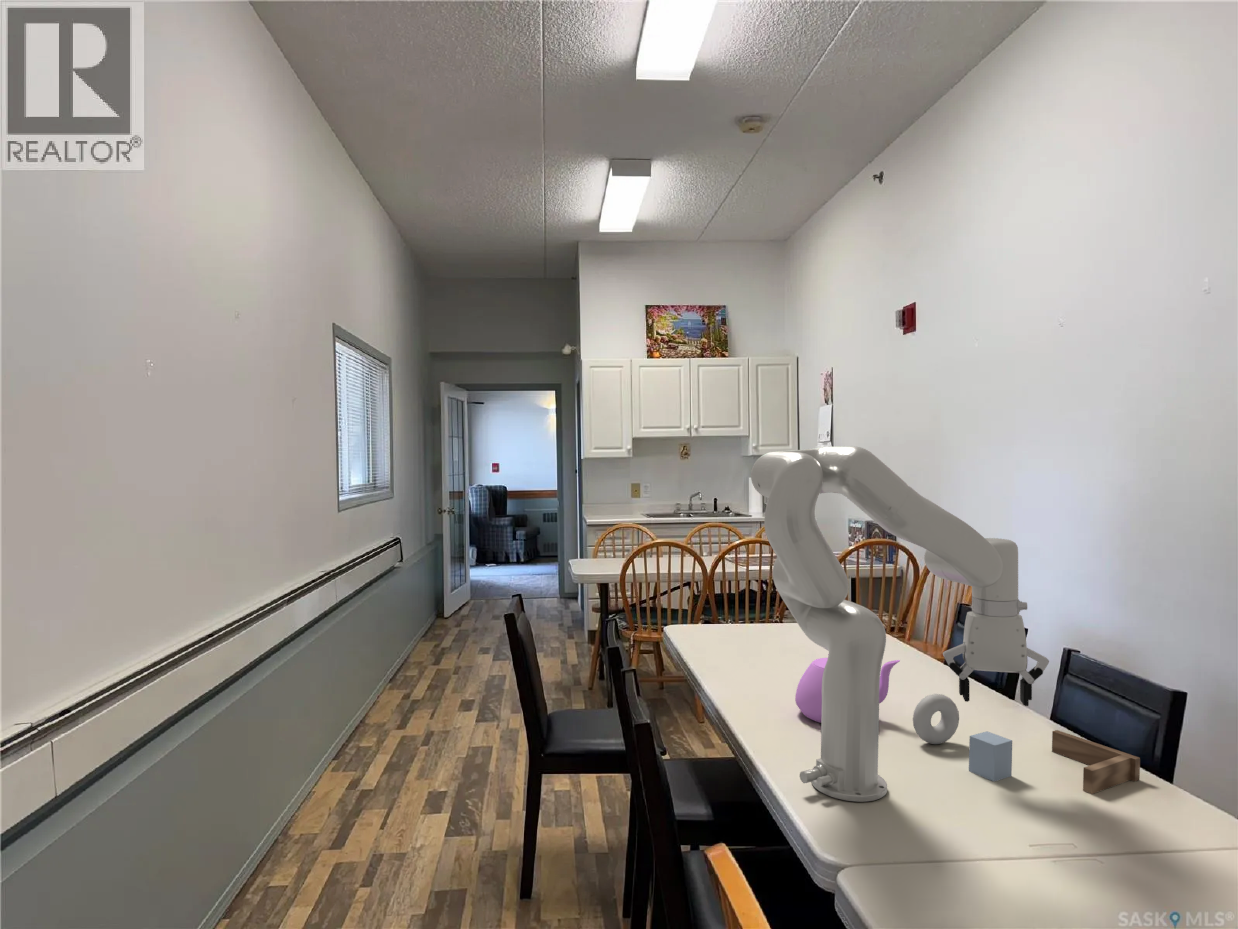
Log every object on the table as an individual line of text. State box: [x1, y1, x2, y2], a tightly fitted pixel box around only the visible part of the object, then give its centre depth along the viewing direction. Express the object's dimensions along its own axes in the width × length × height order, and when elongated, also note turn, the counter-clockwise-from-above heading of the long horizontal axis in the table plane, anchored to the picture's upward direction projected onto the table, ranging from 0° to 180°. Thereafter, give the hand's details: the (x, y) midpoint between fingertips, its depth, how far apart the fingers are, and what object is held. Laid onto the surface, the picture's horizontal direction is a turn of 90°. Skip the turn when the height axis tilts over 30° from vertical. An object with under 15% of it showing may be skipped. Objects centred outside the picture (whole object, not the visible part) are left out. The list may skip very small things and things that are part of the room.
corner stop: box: [1051, 729, 1141, 795], centre depth 139 cm, size 14×15×4 cm
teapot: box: [794, 653, 901, 723], centre depth 165 cm, size 22×22×14 cm
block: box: [968, 731, 1013, 782], centre depth 138 cm, size 5×5×6 cm
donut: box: [912, 693, 960, 745], centre depth 151 cm, size 10×4×10 cm, turn 105°
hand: (994, 701), depth 137 cm, fingers open, 9 cm apart
